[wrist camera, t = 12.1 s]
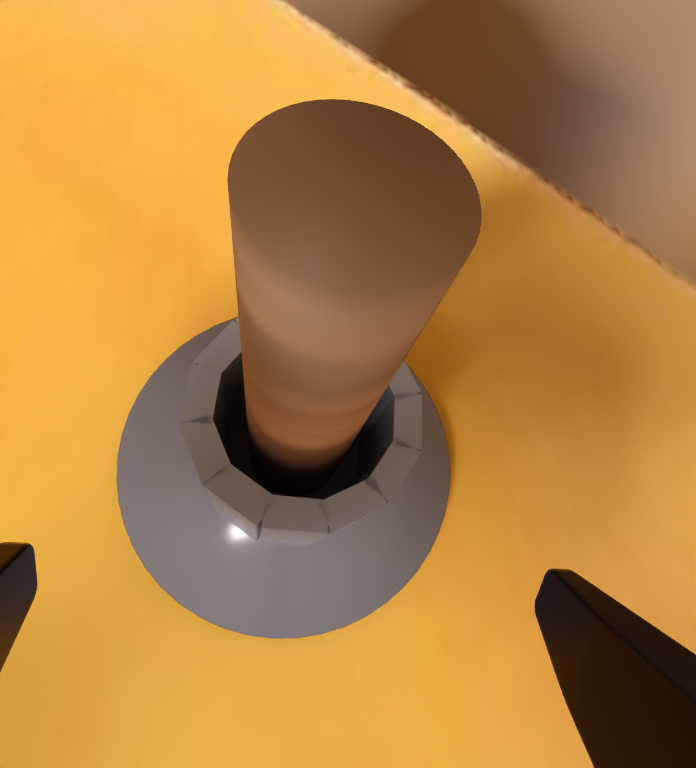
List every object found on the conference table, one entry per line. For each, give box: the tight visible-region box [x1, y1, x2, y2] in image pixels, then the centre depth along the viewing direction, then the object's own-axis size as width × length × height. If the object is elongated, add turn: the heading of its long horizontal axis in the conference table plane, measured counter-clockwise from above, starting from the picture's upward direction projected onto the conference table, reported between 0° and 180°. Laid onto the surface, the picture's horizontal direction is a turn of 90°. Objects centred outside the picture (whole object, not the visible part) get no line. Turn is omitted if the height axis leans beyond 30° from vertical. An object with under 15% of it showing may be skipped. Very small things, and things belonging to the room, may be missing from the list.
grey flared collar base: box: [117, 318, 450, 638], centre depth 15 cm, size 12×12×6 cm
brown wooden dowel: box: [228, 99, 481, 497], centre depth 11 cm, size 3×3×12 cm
